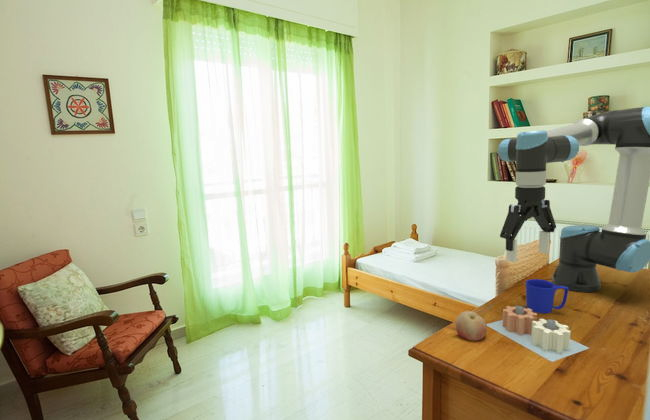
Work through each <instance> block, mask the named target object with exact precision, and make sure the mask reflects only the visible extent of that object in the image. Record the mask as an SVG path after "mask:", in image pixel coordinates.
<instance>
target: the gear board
mask: <svg viewBox="0 0 650 420" xmlns="http://www.w3.org/2000/svg"><path fill="white" fill-rule="evenodd" d="M515 307H516V314H519V315H524V308H525V307H524V306H523V305H515ZM546 320H547V325H546V328H547V329H550V330H555V325H556V322H555V321H556V320H555V321H554V319H551V318H550V319H546ZM486 326H487V327H488V328H490V329H493V330H494V331H495V332H497V333H499V334H501V335H503V336H504V337H506V338H508V339H510V340H512V341H513V342H515V343H517V344H519V345H521V346H523V347H524V348H525V349H528V350H530V351H531V352H533V353H535V354H537V355H538V356H540V357H542V358H543V359H545V360H548V361H549V362H551V363H553V362H556V361H558V360H562V359H564V358H567V357H569V356H573V355H575V354H577V353H580V352H583V351H587V350H589V349H590V347H588V346H586V345H584V344H582V343H579V342H578V341H576V340H573V339H571V338H570V346H569V350H564V349H563V350H562V353H557V352H556V351H552V350H548V351H545V350H542V347H540V346H539V345H534V344H533V343H532V339H531V335H530V334H523V335H518V333H515V332H513V331H512V332H509V331H507V330H506V327H503V319H501V320H497V321H493V322H490V323H486Z"/></svg>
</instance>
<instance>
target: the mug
mask: <svg viewBox="0 0 650 420" xmlns="http://www.w3.org/2000/svg"><path fill="white" fill-rule="evenodd" d="M560 289H561V290H564V292H563V293H564V294H563V298H562V301H561V303H560V304H559V305H558V306H554V299H555V294H556V292H557V290H560ZM568 294H569V290H568V287H565V286H557V285H555V284H554V283H553V282H552V281H549V280H545V279H536V278H534V279H533V278H532V279H527V280H526V281H525V296H526V298H525V299H526V309H527V308H530V309H532V312H533V313H537V314H551V313H552V311H553V309H555V310H561V309H563V308H564V307H565V304H566V302H567V298H568Z"/></svg>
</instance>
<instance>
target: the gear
mask: <svg viewBox="0 0 650 420" xmlns="http://www.w3.org/2000/svg"><path fill="white" fill-rule="evenodd" d="M547 320H548V319H544V318H539V319H538V320H537V321H533V322H532V334H531V339H532V343H533V344H534V345H539V346H540V347H542V350H545V351H548V350H552V351H556V352H557V353H562V350H563V349H564V350H569V346H570V339H571V330H569V328H570V327H569V326H568V325H566V324H562V323H559V321H558V320H554V319H553V320H554V321H555V322H556V325H555V330H550V329H547V328H546V325H547Z"/></svg>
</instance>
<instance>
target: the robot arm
mask: <svg viewBox="0 0 650 420" xmlns="http://www.w3.org/2000/svg"><path fill="white" fill-rule="evenodd" d="M591 145H615V146H614V149H615V151H616V152H617V153H618V154H619V157H618V164H617V168H616V176H615V181H614V189H613V195H612V201H611V206H610V212H609V219H608V224H606V225H605V226H602V229H601V228H600V226H597V225H591V224H582V225H581V224H580V225H579V224H578V225H577V224H576V225H567V226H564V227H562V228H561V231H560V236H559V239H560V241H559V256H558V264H557V266H556V268H555V271H554V272H553V274H552V277H551V278H552V281H551V282H552V283H553V284H555V286H565V287H568V291H573V292H579V293H593V292H598V291H600V290H601V286H602V285H601V284H602V283H601V282H602V281H601V280H600V276H599V273H598V270H597V269H598V268H597V265H599V266H601V267H603V266H604V267H606V268H611V269H615V270H617V271H620V272H622V271H623V272H626V273H637V272H640V271H642V270H643V269H644V268H645V267H646V266H647V265H648V264H649V262H650V240H648V239H646V238H647V232H646V231H645V230H644V229H643V228H642V226H643V222H644V213H645V209H646V205H647V203H646V202H647V197H648V192H649V186H650V106H647V105H646V106H643V107H633V108H624V109H617V110H614V109H613V110H609V111H604V112H601V113H598V114H594V115H590V116H587V117H585V118H581V119H577V120H576V121H574V123H572V124H568V125H565V126H560V127H557V128H552V129H549V130H543V129H542V130H533V131H532V130H531V131H520V132H519V133H518V134H517V135H516V138H513V137H511V138H506V139H503V140H502V141H501V142H500V144H499V145H498V148H497V152H498V153H497V154H498V157H499V159H500V160H501V161H503V162H510V163H514V162H515V185H516V187H515V189H514V191H515V192H514V198H515V199H516V200H517V204H509V205H508V212H507V215H506V218H505V220H504V223H503V225H502V229H501V230H500V235H499V237H500V238H501V239H505V250H506V256H505V257H506V261H508V262H511V263H517V256H518V255H517V251H518V249H517V246H518V244H517V243H518V240H517V239H516V237H517V236H518V233H519V232H520V230H522V229H521V228H522V227H523V225H524V224H525V222H527V220H529V219H532V218H533V219H534V221H536V223H537V225H538V226H539V228H540V229H541V230H540V231H539V233H538V234H539V236H538V237H539V239H538V252H539V253H542V254H546V255H548V254H550V241H551V233H554V232H555V229H556V228H557V224H556V222H555V219H554V215H553V213H552V210H551V203H550V200H549V199H546V187H545V185H546V184H547V164H549V163H551V164H553V163H564V162H567V161H571V160H573V159H574V158H576V156H577V155H578V153H579V152H580V146H581V147H588V146H591ZM600 230H601V231H600Z"/></svg>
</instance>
